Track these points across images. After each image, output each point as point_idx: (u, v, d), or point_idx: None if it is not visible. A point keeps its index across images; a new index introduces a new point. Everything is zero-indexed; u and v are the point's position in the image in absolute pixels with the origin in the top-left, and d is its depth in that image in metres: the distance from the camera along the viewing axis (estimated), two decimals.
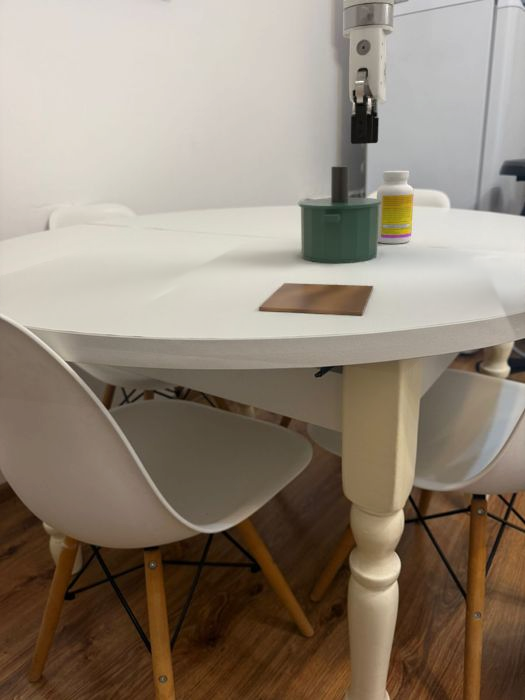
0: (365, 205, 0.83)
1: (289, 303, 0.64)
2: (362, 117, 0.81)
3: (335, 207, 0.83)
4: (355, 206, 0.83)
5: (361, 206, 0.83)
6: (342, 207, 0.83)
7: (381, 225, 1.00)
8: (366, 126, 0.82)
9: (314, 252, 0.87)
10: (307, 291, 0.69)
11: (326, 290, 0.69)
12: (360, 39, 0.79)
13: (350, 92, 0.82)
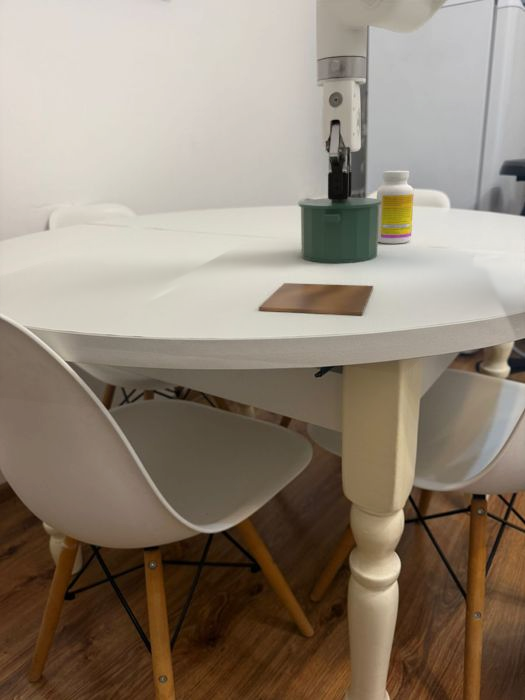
0: (365, 205, 0.83)
1: (289, 303, 0.64)
2: (339, 175, 0.85)
3: (335, 207, 0.83)
4: (355, 206, 0.83)
5: (361, 206, 0.83)
6: (342, 207, 0.83)
7: (381, 225, 1.00)
8: (342, 183, 0.85)
9: (314, 252, 0.87)
10: (307, 291, 0.69)
11: (326, 290, 0.69)
12: (332, 91, 0.79)
13: (323, 142, 0.82)
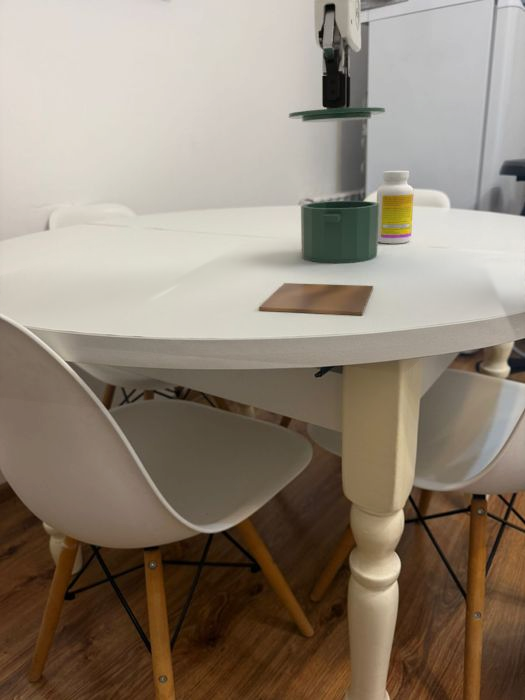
0: (365, 108, 0.71)
1: (289, 303, 0.64)
2: (334, 76, 0.73)
3: (329, 110, 0.71)
4: (353, 109, 0.70)
5: (360, 109, 0.71)
6: (338, 110, 0.70)
7: (381, 225, 1.00)
8: (339, 86, 0.73)
9: (314, 252, 0.87)
10: (307, 291, 0.69)
11: (326, 290, 0.69)
12: None
13: (316, 34, 0.70)
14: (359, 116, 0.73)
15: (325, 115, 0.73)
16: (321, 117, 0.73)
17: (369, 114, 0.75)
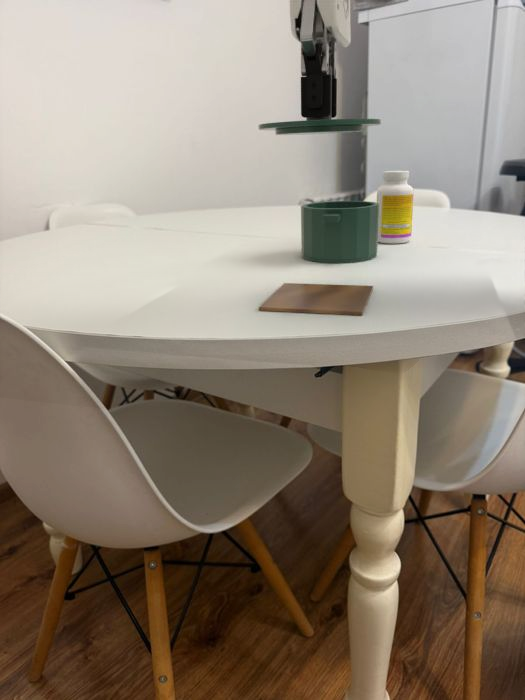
0: (355, 120, 0.55)
1: (289, 303, 0.64)
2: (316, 78, 0.56)
3: (309, 122, 0.54)
4: (340, 121, 0.54)
5: (349, 121, 0.54)
6: (320, 123, 0.54)
7: (381, 225, 1.00)
8: (322, 91, 0.57)
9: (314, 252, 0.87)
10: (307, 291, 0.69)
11: (326, 290, 0.69)
12: None
13: (291, 22, 0.53)
14: (348, 129, 0.57)
15: (304, 128, 0.56)
16: (299, 130, 0.57)
17: (360, 127, 0.58)
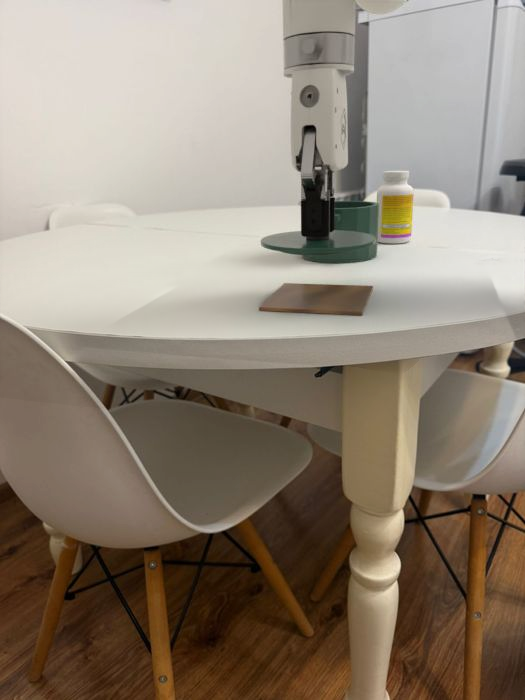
0: (352, 247, 0.58)
1: (289, 303, 0.64)
2: (315, 204, 0.60)
3: (309, 250, 0.58)
4: (337, 249, 0.58)
5: (346, 249, 0.58)
6: (319, 251, 0.58)
7: (381, 225, 1.00)
8: (321, 215, 0.60)
9: None
10: (307, 291, 0.69)
11: (326, 290, 0.69)
12: (305, 84, 0.54)
13: (292, 158, 0.57)
14: (345, 251, 0.60)
15: None
16: (299, 252, 0.60)
17: None
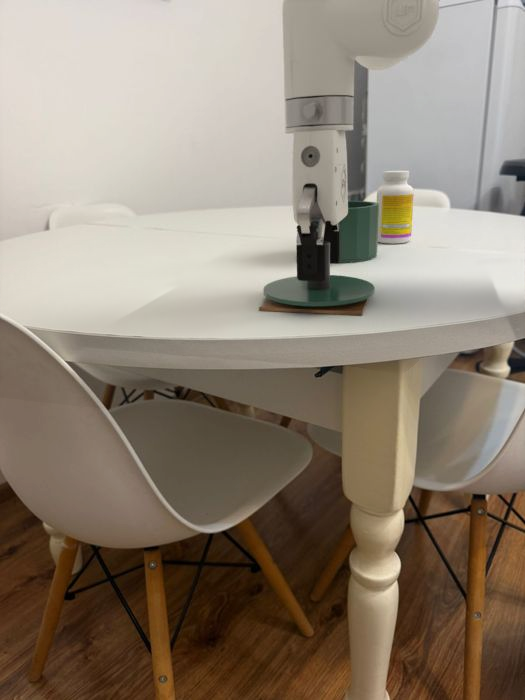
0: (351, 300, 0.60)
1: None
2: (311, 249, 0.59)
3: (310, 304, 0.60)
4: (337, 302, 0.60)
5: (346, 302, 0.60)
6: (320, 304, 0.60)
7: (381, 225, 1.00)
8: (317, 260, 0.59)
9: None
10: None
11: None
12: (306, 145, 0.56)
13: (294, 214, 0.59)
14: None
15: None
16: None
17: None
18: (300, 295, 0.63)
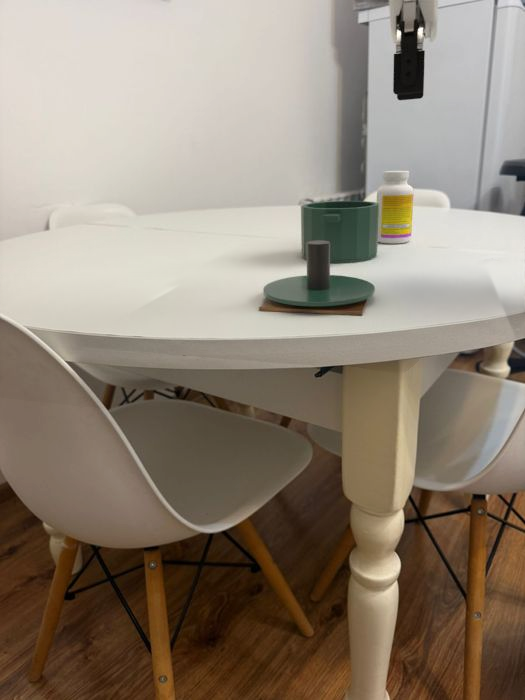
0: (351, 300, 0.60)
1: None
2: (411, 54, 0.57)
3: (310, 304, 0.60)
4: (337, 302, 0.60)
5: (346, 302, 0.60)
6: (320, 304, 0.60)
7: (381, 225, 1.00)
8: (416, 67, 0.58)
9: None
10: None
11: None
12: None
13: (392, 19, 0.57)
14: None
15: None
16: None
17: None
18: (300, 295, 0.63)
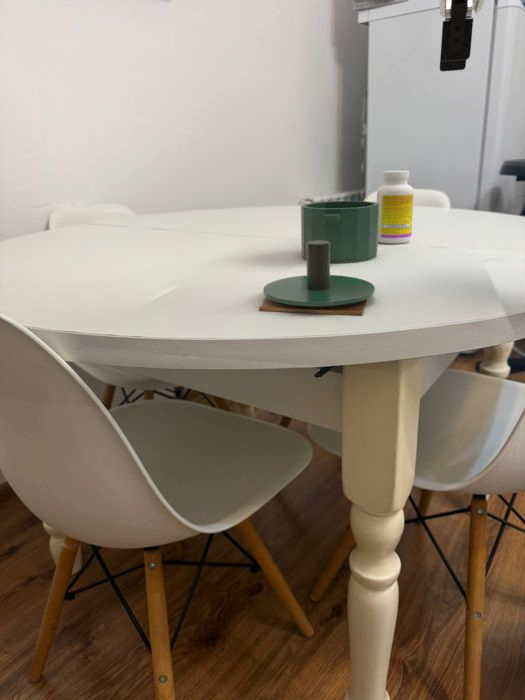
0: (351, 300, 0.60)
1: None
2: (460, 21, 0.59)
3: (310, 304, 0.60)
4: (337, 302, 0.60)
5: (346, 302, 0.60)
6: (320, 304, 0.60)
7: (381, 225, 1.00)
8: (464, 34, 0.60)
9: None
10: None
11: None
12: None
13: None
14: None
15: None
16: None
17: None
18: (300, 295, 0.63)
